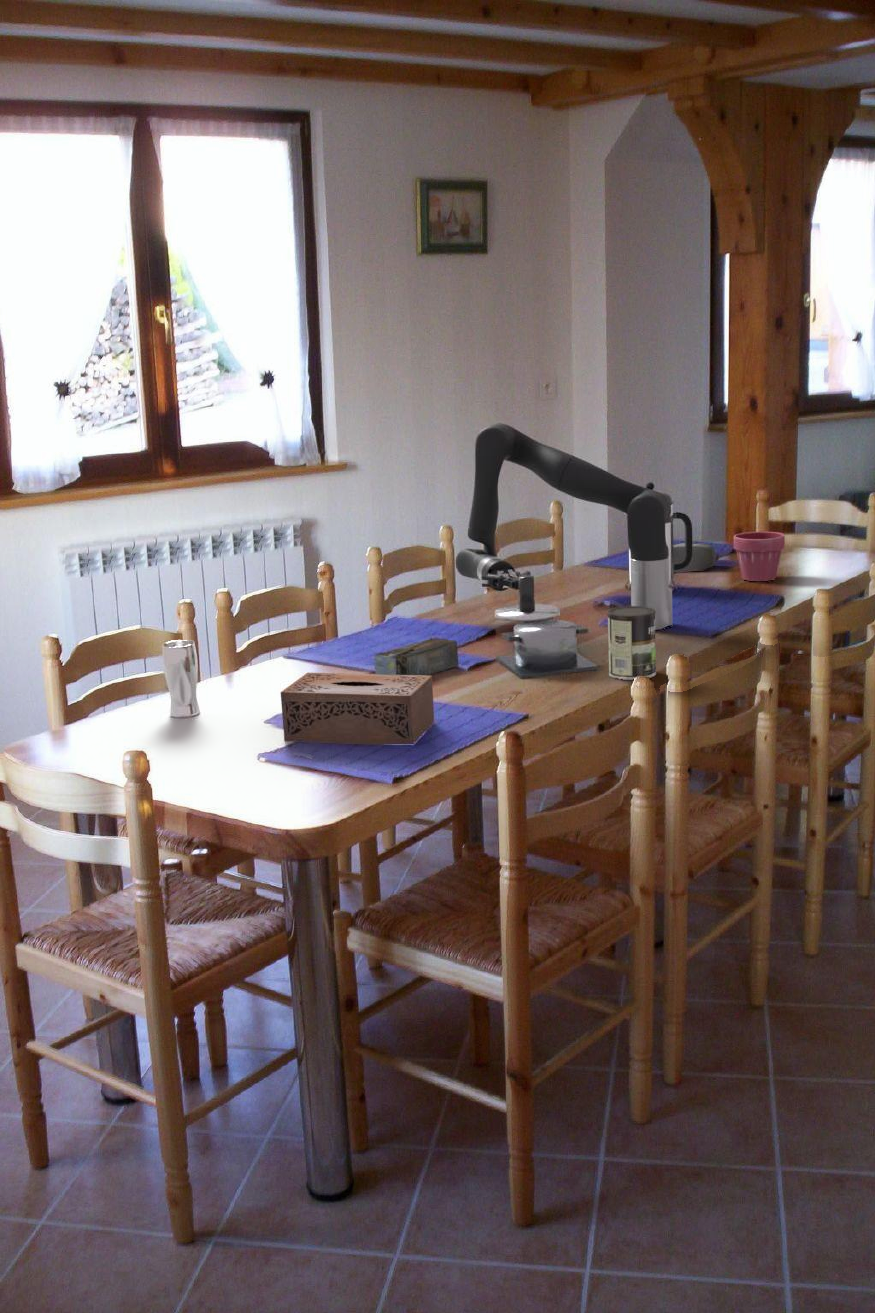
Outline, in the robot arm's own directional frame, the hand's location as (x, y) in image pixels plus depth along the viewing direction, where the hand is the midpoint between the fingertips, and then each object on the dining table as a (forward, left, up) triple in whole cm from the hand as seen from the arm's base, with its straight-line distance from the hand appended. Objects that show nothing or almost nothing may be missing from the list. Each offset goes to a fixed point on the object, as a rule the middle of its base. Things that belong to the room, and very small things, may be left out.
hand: (517, 585), depth 324 cm
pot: (0, +18, -15) cm, 24 cm away
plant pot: (-87, -46, -15) cm, 99 cm away
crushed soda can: (+81, +23, -15) cm, 86 cm away
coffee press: (-56, -48, -15) cm, 75 cm away
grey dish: (-76, -71, -15) cm, 106 cm away
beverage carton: (+28, +12, -16) cm, 34 cm away
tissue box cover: (+50, +51, -16) cm, 73 cm away
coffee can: (-14, +34, -15) cm, 40 cm away
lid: (0, +6, -6) cm, 9 cm away
